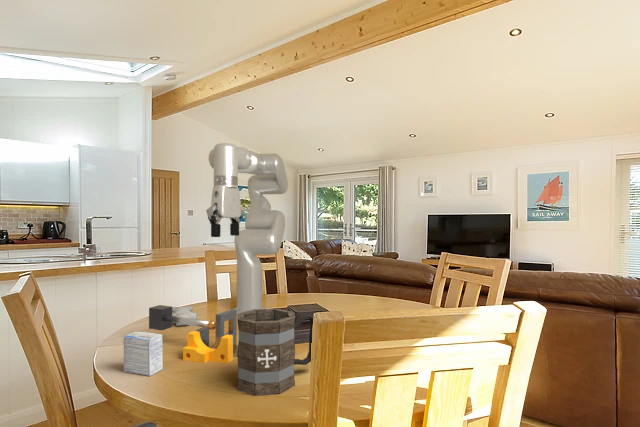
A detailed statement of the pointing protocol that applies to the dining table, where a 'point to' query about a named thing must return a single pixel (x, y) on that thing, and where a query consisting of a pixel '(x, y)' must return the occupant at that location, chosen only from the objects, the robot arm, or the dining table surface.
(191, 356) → the pipe clamp
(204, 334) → the grey square ring
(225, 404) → the dining table surface
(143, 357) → the medicine box
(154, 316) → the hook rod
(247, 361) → the mug
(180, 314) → the light grey rounded piece
